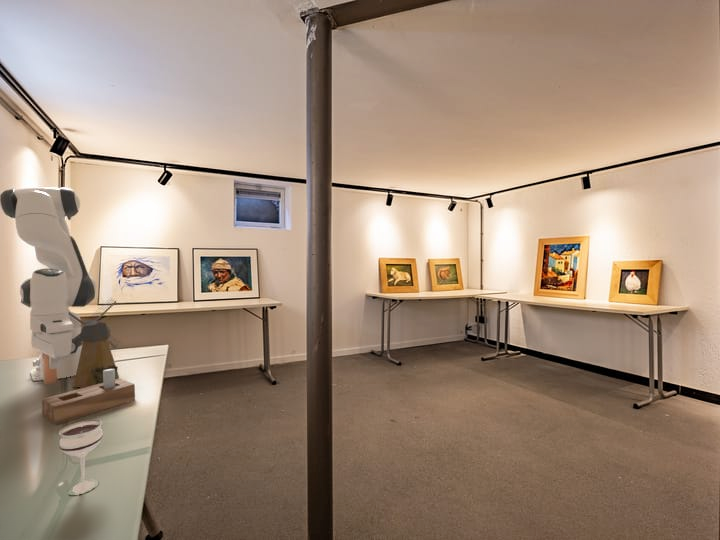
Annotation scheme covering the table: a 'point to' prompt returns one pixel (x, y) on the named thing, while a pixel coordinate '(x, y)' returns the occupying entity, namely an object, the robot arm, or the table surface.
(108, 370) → the seated peg
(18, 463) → the table surface
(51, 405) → the peg block
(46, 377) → the peg
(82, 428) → the wineglass
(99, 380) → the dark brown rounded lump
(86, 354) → the windmill
